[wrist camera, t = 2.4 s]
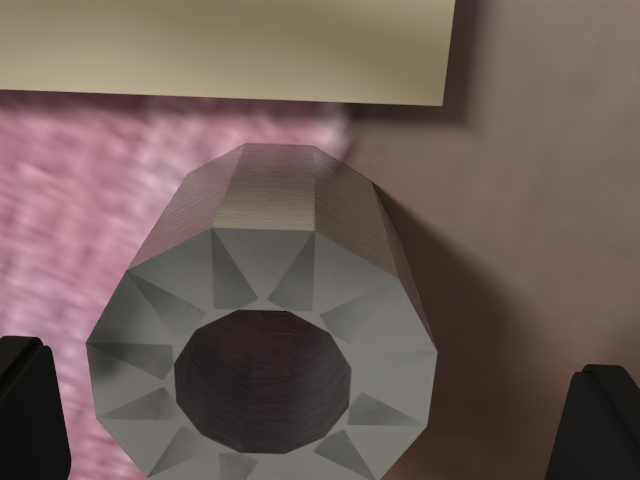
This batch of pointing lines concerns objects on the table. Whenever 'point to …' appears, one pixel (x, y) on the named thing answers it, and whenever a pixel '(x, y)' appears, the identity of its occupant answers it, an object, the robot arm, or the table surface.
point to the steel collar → (266, 328)
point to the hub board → (230, 48)
